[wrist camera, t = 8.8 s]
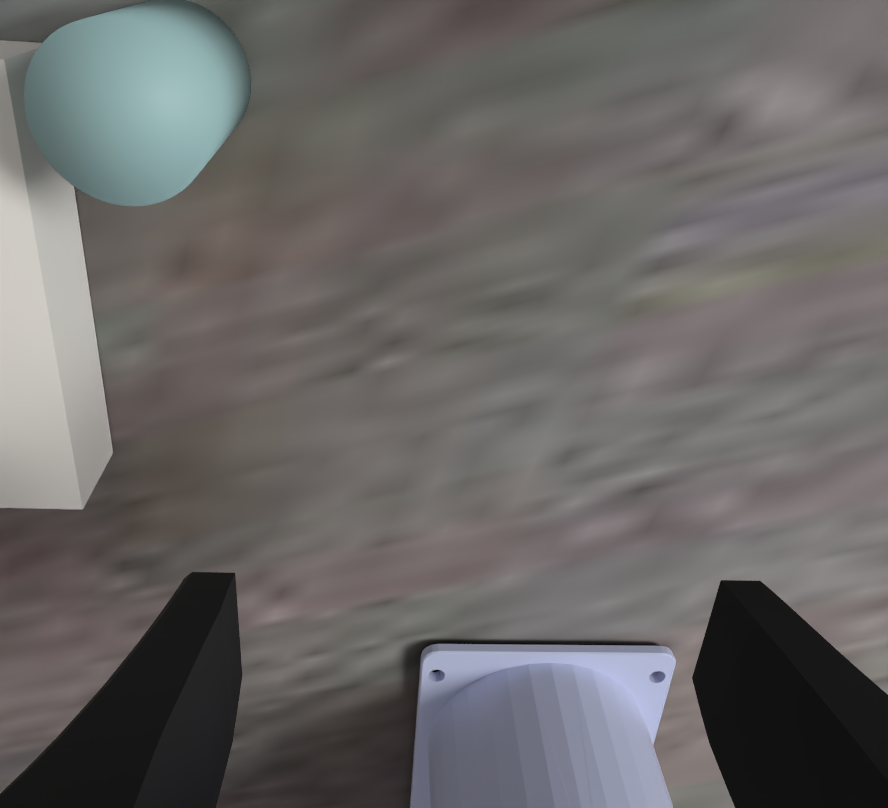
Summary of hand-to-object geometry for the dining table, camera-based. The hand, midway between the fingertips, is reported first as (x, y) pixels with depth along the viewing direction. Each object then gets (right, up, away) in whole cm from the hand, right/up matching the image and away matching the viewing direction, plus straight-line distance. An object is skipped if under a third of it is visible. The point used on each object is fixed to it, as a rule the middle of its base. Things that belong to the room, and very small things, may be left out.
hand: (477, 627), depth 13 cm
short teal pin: (-6, +10, +5) cm, 13 cm away
